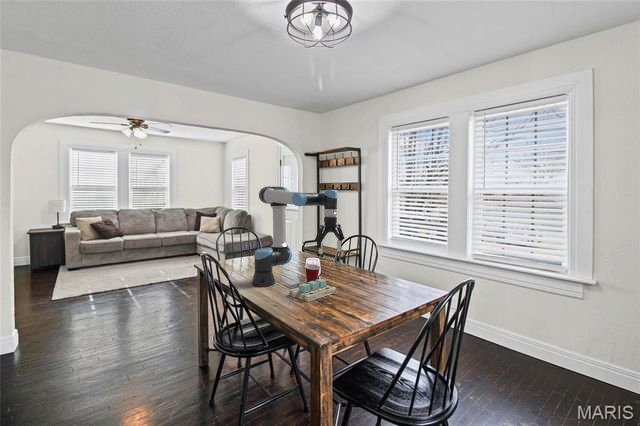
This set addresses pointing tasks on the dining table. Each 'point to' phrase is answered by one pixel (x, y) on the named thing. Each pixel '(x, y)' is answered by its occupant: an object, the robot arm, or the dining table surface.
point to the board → (312, 293)
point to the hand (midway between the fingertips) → (329, 252)
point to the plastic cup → (312, 272)
